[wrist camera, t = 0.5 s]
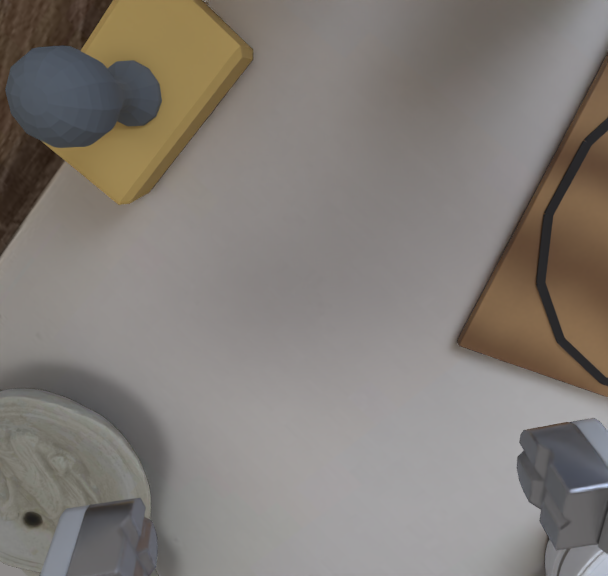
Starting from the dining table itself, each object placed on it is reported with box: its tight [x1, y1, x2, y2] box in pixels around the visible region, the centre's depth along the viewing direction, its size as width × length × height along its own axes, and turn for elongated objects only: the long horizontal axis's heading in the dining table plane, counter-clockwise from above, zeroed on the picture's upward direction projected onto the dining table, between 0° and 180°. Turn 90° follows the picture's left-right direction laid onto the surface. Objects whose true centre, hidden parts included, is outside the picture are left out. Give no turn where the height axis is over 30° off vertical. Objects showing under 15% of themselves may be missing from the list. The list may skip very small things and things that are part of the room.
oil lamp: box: [0, 388, 159, 576], centre depth 36 cm, size 21×14×5 cm
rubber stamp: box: [5, 0, 253, 205], centre depth 22 cm, size 10×6×12 cm, turn 138°
